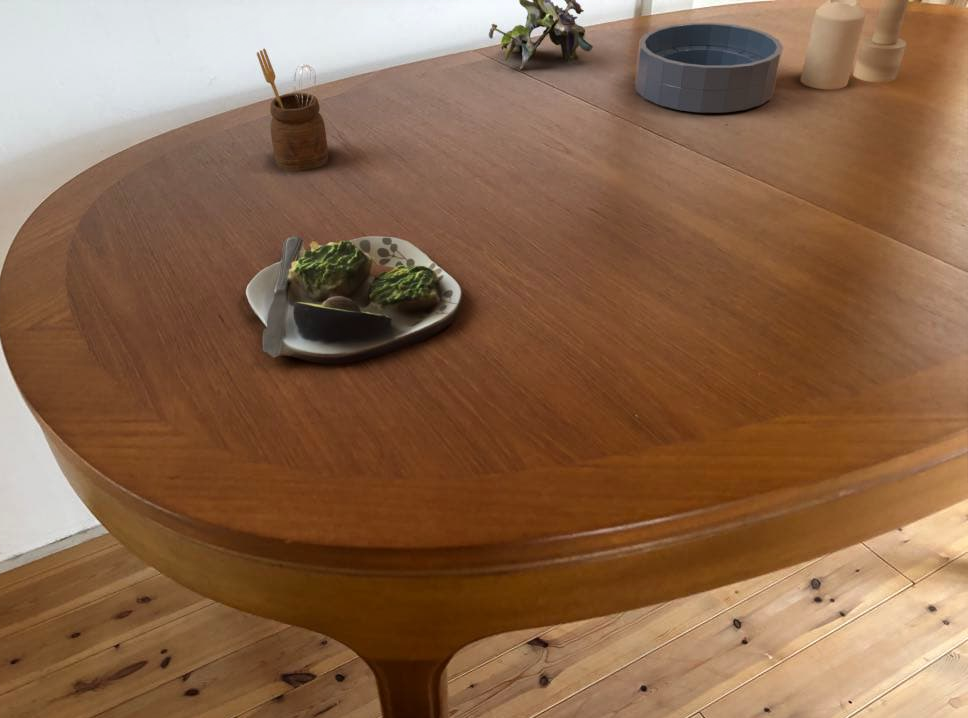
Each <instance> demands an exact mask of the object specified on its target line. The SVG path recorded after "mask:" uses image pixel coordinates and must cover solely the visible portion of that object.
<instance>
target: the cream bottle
mask: <svg viewBox="0 0 968 718" xmlns="http://www.w3.org/2000/svg"><path fill="white" fill-rule="evenodd" d="M865 19H866V11H865V10H864V9H863V7H862V6H861V5H860V4H859V2H858V1H857V0H826V1H825V2H824V3H823V4H822V5H820V6H819V7H818V8H816V10H815V12H814V17H813V22H812V27H811V31H810V35H809V40H808V45H807V49H806V52H805V57H804V62H803V66H802V69H801V75H800V82H801V83H802V84H803V85H804V86H807V87H810V88H814V89H817V90H819V89H820V90H838V89H843V88H845V87H846V86H848V84H849V80H850V77H851V73H852V69H853V65H854V61H855V57H856V55H857V54H856V53H857V49H858V46H859V42H860V38H861V34H862V30H863V28H864V27H863V26H864V22H865Z"/></svg>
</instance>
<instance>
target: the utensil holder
mask: <svg viewBox="0 0 968 718" xmlns="http://www.w3.org/2000/svg"><path fill="white" fill-rule="evenodd" d="M256 56H257V59H258V62H259V64H260V68H261V71H262V75H263V77H264V80H265V81H266V83H268V84H270V85H271V88H272V91H273V94H274V96H275V98H273V100H272V101H271V102H270V107H269V108H270V109H269V110H270V115H271V117H272V118H271V120H270V124H269V125H270V127H269V128H270V137H271V143H272V144H271V145H272V149H273V156H274V160H275V163H276V166H278V167H279V168H280V169H282V170H284V171H289V172H304V171H305V172H306V171H310V170H314V169H317V168H320V167H321V166H323V165H325V164H326V163H327V162H328V160H329V149H328V148H329V147H328V140H327V134H326V133H327V132H326V125H325V120H324V118H323V116H322V114H321V113H320V110H321V109H320V108H321V107H320V103H319V99H318V98H317V96H315V93H316V86H317V83H316V82H317V76H316V75H317V74H316V71H315V69H314V68H313V67H312V66H310V65H309V64H306V65H305V64H300V65H299V67H297V68H296V69H295V72H294V76H293V80H296V78H297V71H298V70H299V69H300V68H301V71H300V73H299V77H302V73H303V70H304V68H305V69H306V70H308V69H309V72H308V71H306V76H309V80H311V73H312V74H313V79H314V82H313V83H314V85H313V86H314V87H313V94H310V93H309V92H310V90H311V87H308V90H307V92H306V93H304V92H297V90H296V87H294V91H293V93H286V94H282V95H280V94H279V91H278V89H277V85H276V84H275V81H276V74H275V70H274V68H273V65H272V63H271V61H270V58H269V55H268V52H267V50H266V48H265V47H263V49H262V50H261V49H260V50H259V51H257V52H256ZM307 68H308V69H307ZM300 84H301V86H300ZM300 87H301V88H303V83H301V78H299V81H298V88H300Z"/></svg>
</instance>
